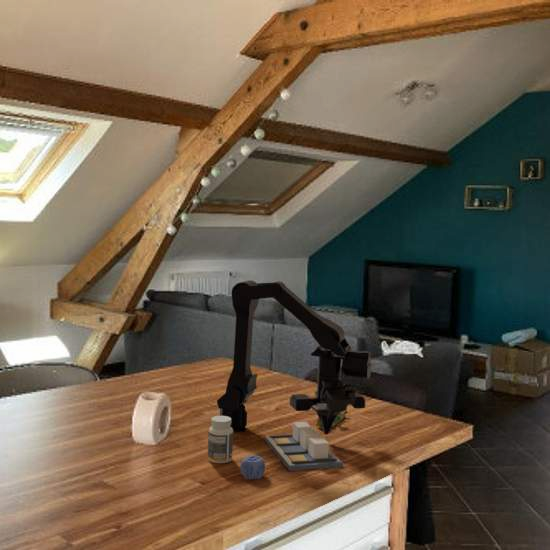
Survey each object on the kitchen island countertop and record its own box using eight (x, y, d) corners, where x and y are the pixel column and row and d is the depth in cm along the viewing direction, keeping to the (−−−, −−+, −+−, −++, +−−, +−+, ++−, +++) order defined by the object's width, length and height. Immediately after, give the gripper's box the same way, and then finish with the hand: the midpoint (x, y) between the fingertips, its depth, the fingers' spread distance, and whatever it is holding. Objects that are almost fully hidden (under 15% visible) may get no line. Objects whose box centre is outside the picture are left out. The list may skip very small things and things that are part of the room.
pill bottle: (219, 453, 164) (221, 413, 163) (237, 459, 160) (238, 418, 159) (202, 459, 160) (204, 418, 159) (220, 466, 156) (221, 424, 155)
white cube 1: (313, 459, 159) (314, 443, 159) (308, 453, 163) (308, 438, 163) (327, 458, 160) (328, 442, 160) (321, 452, 164) (322, 437, 164)
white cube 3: (297, 441, 171) (298, 427, 170) (292, 436, 174) (293, 422, 174) (310, 441, 172) (311, 426, 171) (305, 435, 175) (305, 421, 175)
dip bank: (289, 470, 155) (289, 464, 155) (264, 439, 175) (264, 434, 175) (342, 466, 159) (342, 460, 159) (311, 436, 179) (312, 431, 179)
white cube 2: (305, 450, 165) (306, 435, 165) (299, 444, 169) (300, 430, 168) (318, 449, 166) (319, 434, 166) (313, 443, 170) (314, 429, 169)
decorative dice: (239, 476, 151) (240, 459, 150) (250, 471, 154) (251, 454, 154) (254, 481, 148) (255, 463, 148) (265, 475, 152) (265, 458, 151)
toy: (354, 412, 196) (335, 422, 183) (342, 424, 198) (323, 435, 184) (341, 398, 198) (322, 408, 185) (330, 411, 200) (310, 421, 186)
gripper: (305, 383, 163) (301, 447, 165) (376, 381, 168) (372, 442, 170) (290, 372, 174) (287, 432, 175) (358, 370, 179) (354, 428, 181)
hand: (326, 434), depth 175 cm, fingers closed
